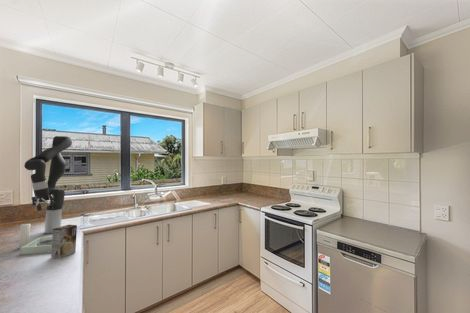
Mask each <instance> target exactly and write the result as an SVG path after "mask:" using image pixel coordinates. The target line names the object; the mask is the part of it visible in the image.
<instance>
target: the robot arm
mask: <svg viewBox="0 0 470 313" xmlns="http://www.w3.org/2000/svg"><path fill="white" fill-rule="evenodd" d="M51 145H52V147H48V148H45V149H44V150H42V152H40V153H39V154H37V155H36V156H33V157H32V158H29V159H27V161H25V162H24V168H25V169H26V170H27V171H35V173H32V174H31V175H30V179H31V183H32V190H33V194H34V196H32V197H31V201H32V205H33V206H36V210H37V211H38V212H39V211H42V205H41V204H42V203H46V204H47V206H46V207H45V208H46V209H45V210H46V211H45V219H44V220H45V221H44V230H43V231H44V232H43V233H44V234H53V229H54V228H58V227H62V216H63V215H62V214H63V207H64V206H63V205H64V202H65V196H66V193H65V189H64V188H56V184H57V182H58V181H59V180H60V179H61V177H62V176H63V175H64V174H65V172H66V166H67V164H66V160H65V159H64V158H63V155H62V152H63V151H65V150H67V149H69V148H70V147H71V146H72V145H73V140H72V137H70V136H66V135H64V136H63V135H55V136H54V137H53V138H52V144H51ZM49 161H50V165H49V170H48V171H49V173H48V179H46V168H47V165H46V164H47V163H49Z"/></svg>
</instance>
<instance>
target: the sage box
mask: <svg viewBox="0 0 470 313" xmlns="http://www.w3.org/2000/svg"><path fill="white" fill-rule="evenodd" d="M52 237H53V235H52V236H41V237H38V238H36V239H34V240H33V241H31V242H30V241H29V243H28V244H27V245H25V246H23V247H21V249H19V251H20V253H19V255H32V254H35V253H36V254H46V253H51V251H52Z"/></svg>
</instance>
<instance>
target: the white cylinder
mask: <svg viewBox="0 0 470 313" xmlns="http://www.w3.org/2000/svg"><path fill="white" fill-rule="evenodd" d="M31 226H32V225H31V223H23V224H20V226H19V227H20V228H19V237H18V250H21V247H23V246H25V245H27V244H28V243H30V237H31V236H30V235H31Z"/></svg>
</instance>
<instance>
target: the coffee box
mask: <svg viewBox="0 0 470 313" xmlns="http://www.w3.org/2000/svg"><path fill="white" fill-rule="evenodd" d="M77 231H78V225H77V224H66V225H61V227H58V228H54V229H53V233H52V236H53V237H52V251H51V252H50V258H51V257H52V259H59V260H60V259H63V258H65V257H67V256H70V255H72V254H74V253H76V247H77Z"/></svg>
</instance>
